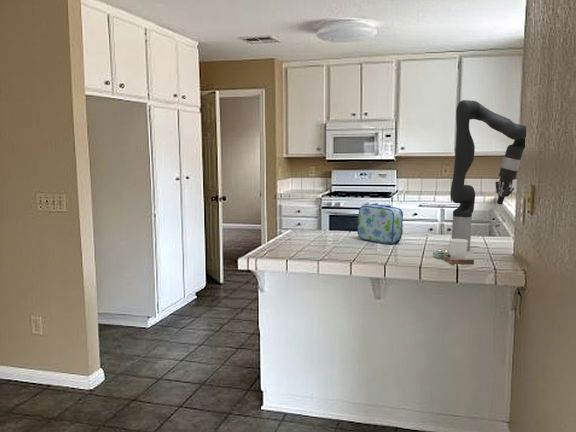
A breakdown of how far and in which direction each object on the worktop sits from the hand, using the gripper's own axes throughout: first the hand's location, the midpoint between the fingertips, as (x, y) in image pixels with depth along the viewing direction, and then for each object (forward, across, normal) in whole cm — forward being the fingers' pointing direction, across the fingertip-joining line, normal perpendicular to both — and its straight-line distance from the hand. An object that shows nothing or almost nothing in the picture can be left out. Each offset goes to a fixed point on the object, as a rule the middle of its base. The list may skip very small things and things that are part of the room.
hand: (499, 203), depth 244 cm
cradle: (+28, +10, -18) cm, 34 cm away
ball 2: (+27, +1, -21) cm, 34 cm away
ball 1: (+28, -1, -23) cm, 36 cm away
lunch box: (+39, -44, -37) cm, 69 cm away
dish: (+29, +1, -21) cm, 36 cm away
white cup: (+28, +10, -18) cm, 34 cm away
